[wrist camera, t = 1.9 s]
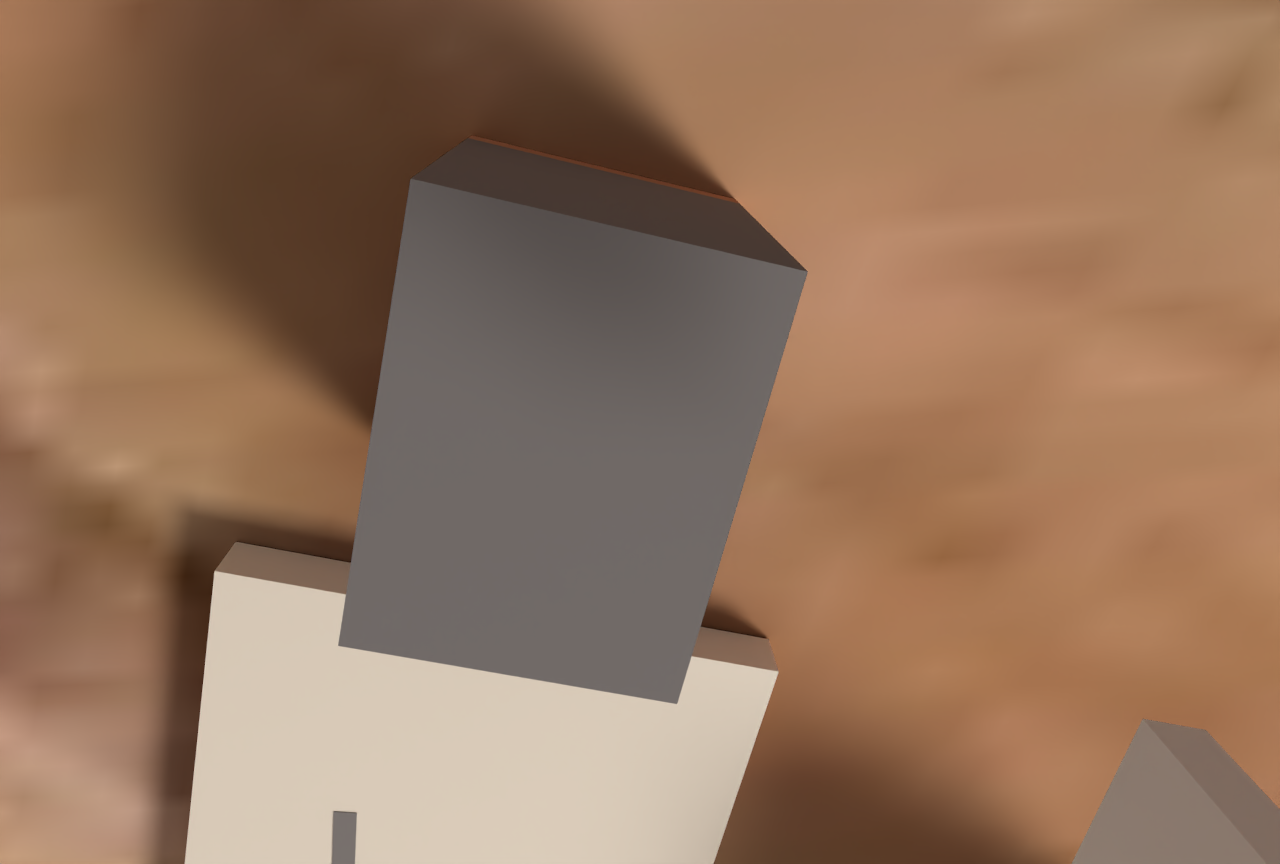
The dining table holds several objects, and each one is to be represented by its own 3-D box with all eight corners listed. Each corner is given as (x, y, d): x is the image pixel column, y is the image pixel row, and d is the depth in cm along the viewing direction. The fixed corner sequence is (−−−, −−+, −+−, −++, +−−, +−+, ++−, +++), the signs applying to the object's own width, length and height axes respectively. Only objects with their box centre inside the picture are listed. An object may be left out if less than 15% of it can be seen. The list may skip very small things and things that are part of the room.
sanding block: (472, 134, 22) (410, 178, 14) (734, 198, 22) (808, 271, 15) (414, 463, 24) (338, 646, 17) (650, 510, 25) (676, 703, 18)
